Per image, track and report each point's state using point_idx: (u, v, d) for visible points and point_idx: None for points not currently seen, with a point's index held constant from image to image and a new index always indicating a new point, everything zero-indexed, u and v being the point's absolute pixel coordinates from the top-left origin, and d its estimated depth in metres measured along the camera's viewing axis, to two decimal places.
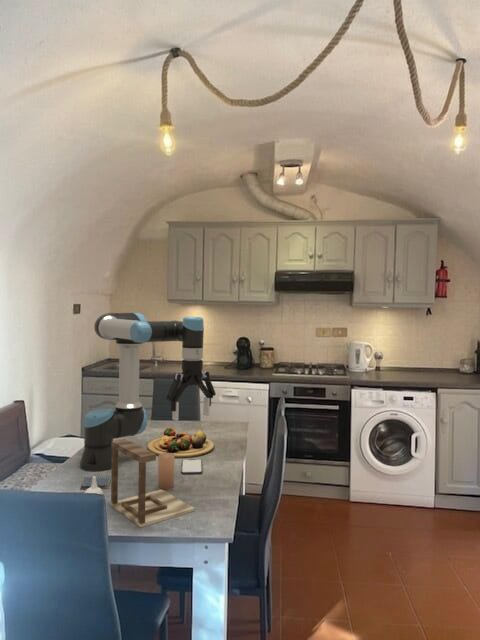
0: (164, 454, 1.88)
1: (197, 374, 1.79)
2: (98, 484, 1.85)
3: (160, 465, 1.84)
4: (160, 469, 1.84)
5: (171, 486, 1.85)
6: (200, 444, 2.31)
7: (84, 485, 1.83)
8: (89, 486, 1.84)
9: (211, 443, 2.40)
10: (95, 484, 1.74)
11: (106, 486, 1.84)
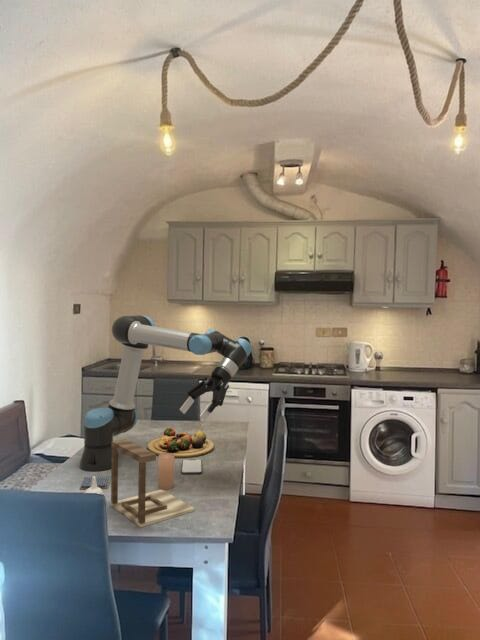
0: (164, 454, 1.88)
1: None
2: (98, 484, 1.86)
3: (160, 465, 1.84)
4: (160, 469, 1.84)
5: (171, 486, 1.85)
6: (200, 444, 2.31)
7: (84, 485, 1.83)
8: (89, 486, 1.84)
9: (211, 443, 2.40)
10: (95, 484, 1.74)
11: (106, 486, 1.84)
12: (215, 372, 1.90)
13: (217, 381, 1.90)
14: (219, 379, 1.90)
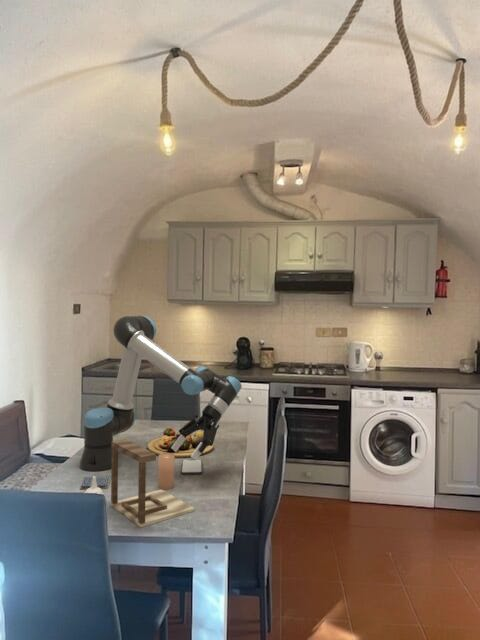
0: (164, 454, 1.88)
1: None
2: (98, 484, 1.86)
3: (160, 465, 1.84)
4: (160, 469, 1.84)
5: (171, 486, 1.85)
6: None
7: (84, 485, 1.83)
8: (89, 486, 1.84)
9: None
10: (95, 484, 1.74)
11: (106, 486, 1.84)
12: (206, 411, 1.96)
13: (207, 420, 1.95)
14: (209, 418, 1.95)
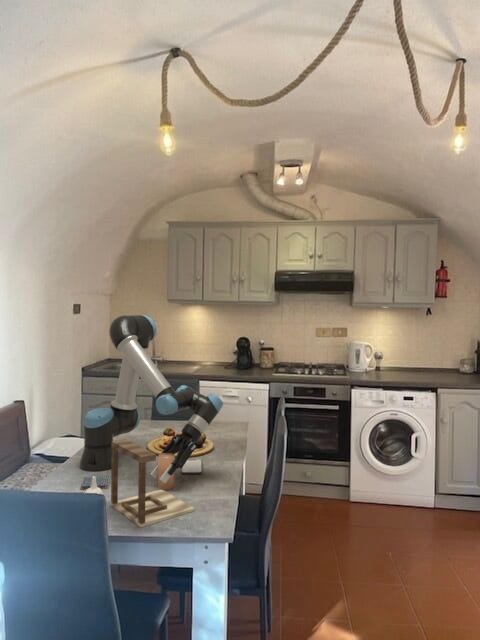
0: (164, 454, 1.88)
1: None
2: None
3: (160, 465, 1.84)
4: (160, 469, 1.84)
5: (171, 486, 1.85)
6: (200, 444, 2.32)
7: (84, 485, 1.83)
8: (89, 486, 1.84)
9: (211, 443, 2.40)
10: (95, 484, 1.74)
11: (106, 486, 1.84)
12: (185, 430, 1.91)
13: (186, 439, 1.90)
14: (189, 437, 1.90)
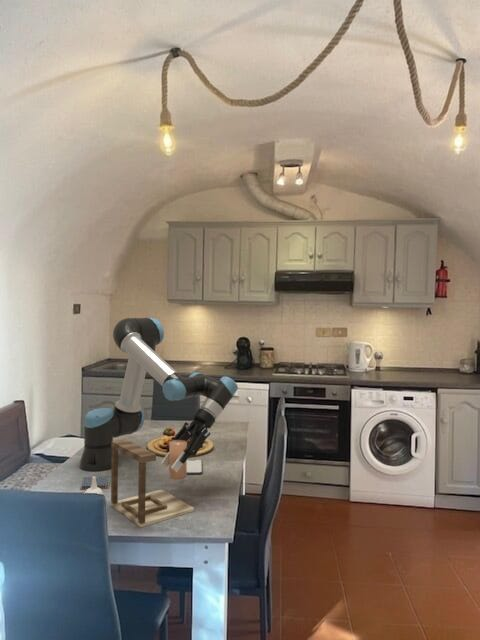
0: (176, 441, 1.73)
1: None
2: None
3: (171, 452, 1.70)
4: (171, 457, 1.70)
5: (183, 475, 1.71)
6: None
7: (85, 485, 1.83)
8: (89, 486, 1.84)
9: (211, 443, 2.40)
10: (95, 484, 1.74)
11: (107, 486, 1.84)
12: (198, 415, 1.77)
13: (199, 425, 1.76)
14: (202, 422, 1.76)
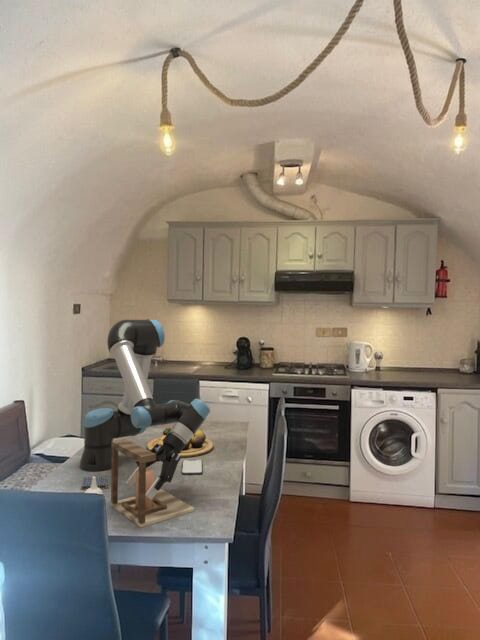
0: None
1: None
2: None
3: (137, 483, 1.63)
4: (137, 488, 1.63)
5: (150, 507, 1.64)
6: (199, 444, 2.32)
7: (85, 485, 1.83)
8: (90, 486, 1.84)
9: (210, 443, 2.40)
10: (95, 484, 1.74)
11: (107, 486, 1.84)
12: (166, 440, 1.69)
13: (168, 450, 1.69)
14: (171, 448, 1.69)
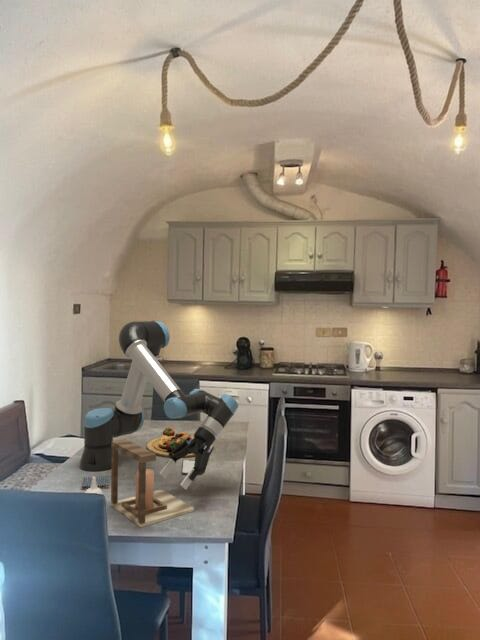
0: None
1: None
2: None
3: (137, 483, 1.63)
4: (137, 488, 1.63)
5: (150, 507, 1.64)
6: None
7: (85, 485, 1.83)
8: (90, 486, 1.84)
9: None
10: (95, 484, 1.74)
11: (107, 486, 1.84)
12: (198, 433, 1.78)
13: (200, 443, 1.77)
14: (202, 441, 1.77)
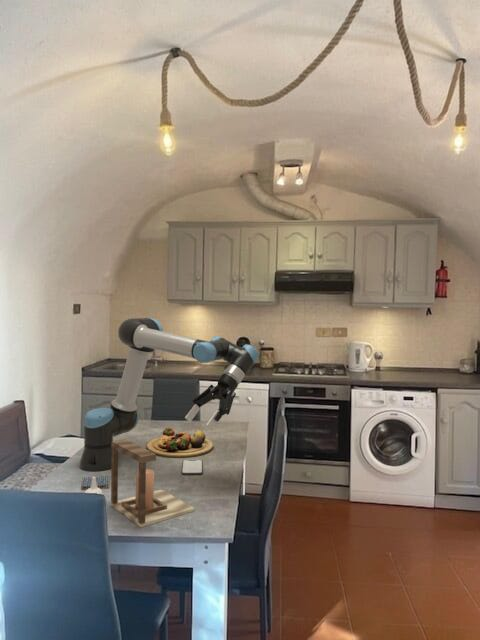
0: None
1: None
2: None
3: (137, 483, 1.63)
4: (137, 488, 1.63)
5: (150, 507, 1.64)
6: (199, 444, 2.32)
7: (85, 485, 1.83)
8: (90, 486, 1.84)
9: (210, 443, 2.41)
10: (95, 484, 1.74)
11: (107, 486, 1.85)
12: (221, 379, 1.86)
13: (223, 389, 1.86)
14: (226, 386, 1.86)
